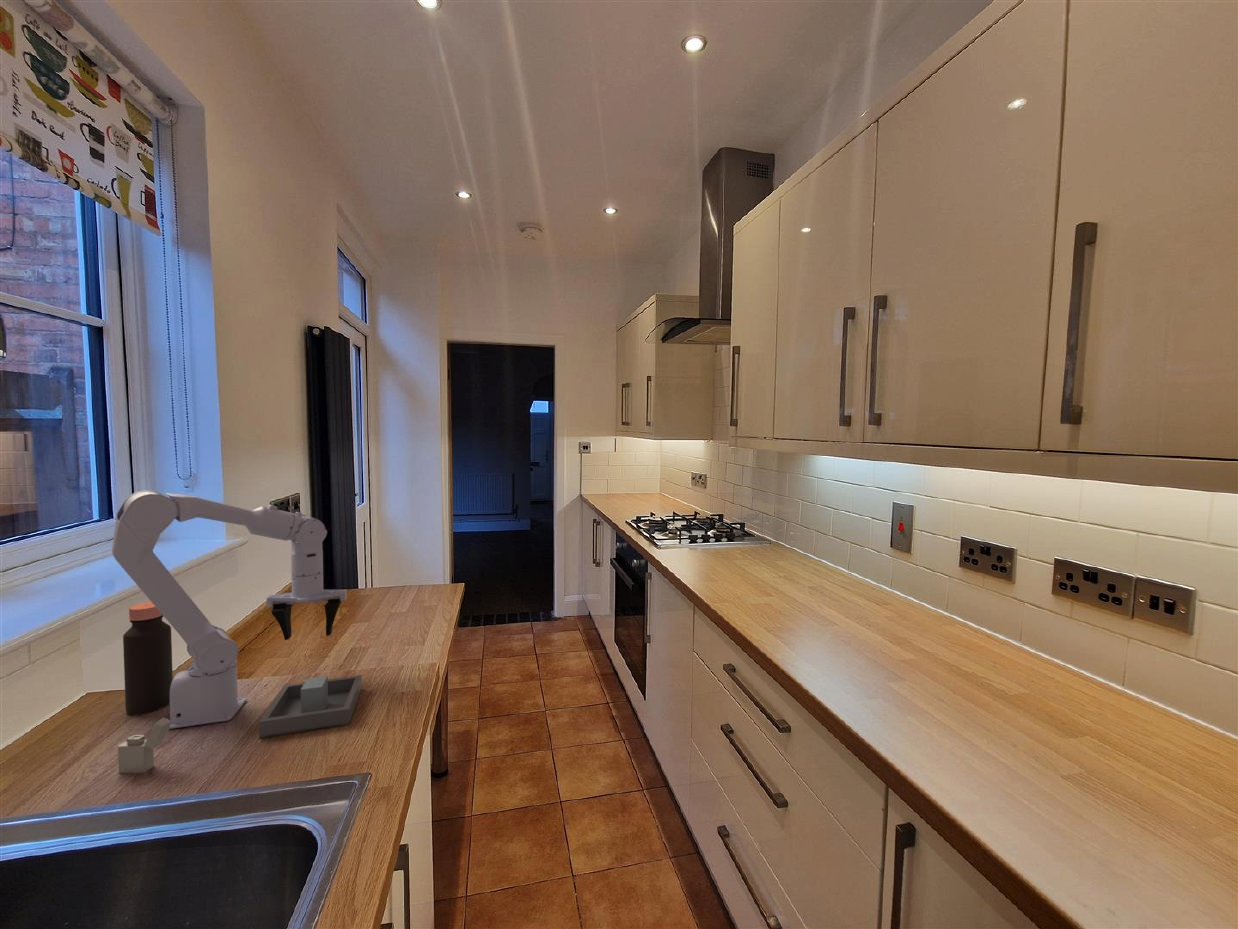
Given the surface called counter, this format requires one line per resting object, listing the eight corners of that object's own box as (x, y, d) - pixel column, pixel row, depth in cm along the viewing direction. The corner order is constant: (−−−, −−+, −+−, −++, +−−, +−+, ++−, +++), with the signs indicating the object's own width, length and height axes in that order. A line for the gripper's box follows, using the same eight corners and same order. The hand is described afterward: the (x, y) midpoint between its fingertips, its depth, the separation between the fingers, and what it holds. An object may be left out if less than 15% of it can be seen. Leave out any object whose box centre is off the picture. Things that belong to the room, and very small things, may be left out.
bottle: (155, 695, 102) (152, 598, 101) (182, 699, 100) (179, 601, 99) (116, 713, 95) (112, 609, 94) (144, 717, 94) (140, 612, 93)
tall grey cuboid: (301, 718, 93) (300, 689, 93) (307, 706, 97) (307, 678, 97) (322, 715, 94) (321, 686, 94) (328, 703, 98) (327, 676, 98)
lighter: (117, 773, 78) (116, 723, 78) (128, 766, 80) (126, 717, 80) (164, 773, 78) (162, 723, 78) (173, 765, 80) (172, 717, 80)
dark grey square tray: (259, 738, 87) (258, 722, 87) (284, 699, 101) (284, 685, 100) (349, 725, 92) (348, 709, 92) (361, 689, 105) (361, 675, 105)
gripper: (260, 580, 100) (262, 647, 101) (341, 575, 105) (342, 639, 105) (272, 572, 107) (273, 634, 107) (348, 567, 111) (349, 627, 112)
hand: (308, 636), depth 107 cm, fingers open, 7 cm apart
